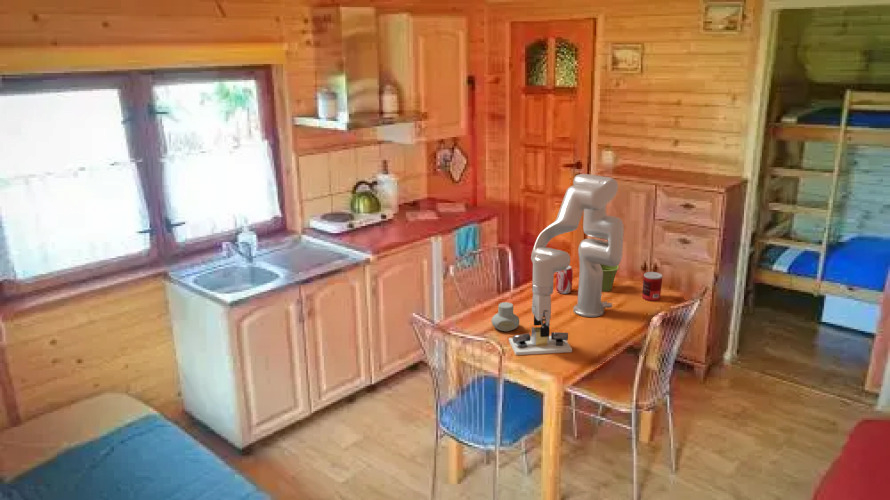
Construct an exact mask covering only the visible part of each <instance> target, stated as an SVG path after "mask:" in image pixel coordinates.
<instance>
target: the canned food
mask: <svg viewBox="0 0 890 500" xmlns="http://www.w3.org/2000/svg"><path fill="white" fill-rule="evenodd" d="M662 283H663V274H662V273H660V272H655V271H648V272H645V273H643V281H642V291H641V297H642V299H643V300H644V299H645V301H648V302H658V301H659V300H660V299H661V294H662Z"/></svg>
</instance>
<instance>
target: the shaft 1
mask: <svg viewBox="0 0 890 500" xmlns="http://www.w3.org/2000/svg"><path fill="white" fill-rule="evenodd" d="M512 338H513V342H514V343H516V344H517V345H518V346H519V347H520V348H525V347H527V343H526V341H530V340H531V335H530V333H528V332H527V333H523V334H522V333H521V334H517V335H516V334H514V335H512Z"/></svg>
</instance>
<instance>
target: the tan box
mask: <svg viewBox="0 0 890 500" xmlns="http://www.w3.org/2000/svg"><path fill="white" fill-rule="evenodd" d="M541 327H542V326H538V327H537V326H536V327H533V326H532V327H531V335H530V337H531V342H532V344H533V345H534V346H546V345H549V337H541V336H540V328H541ZM549 333H551V332H550V330H549Z"/></svg>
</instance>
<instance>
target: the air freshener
mask: <svg viewBox="0 0 890 500" xmlns="http://www.w3.org/2000/svg"><path fill="white" fill-rule="evenodd" d="M497 308H498V310H497V311H498V312H497V313H496V314H494V315H493V316H492V318H491V324H492V326H493V327H494V328H495V329H497V330H499V331H502V332H509V331H512V330H515V329H517V327H519V325H520V318H519V317H518V315H516V314H515V313H514V304H513V303H511V302H507V301H505V302H504V301H503V302H500V303H499V304H498V307H497Z"/></svg>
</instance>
